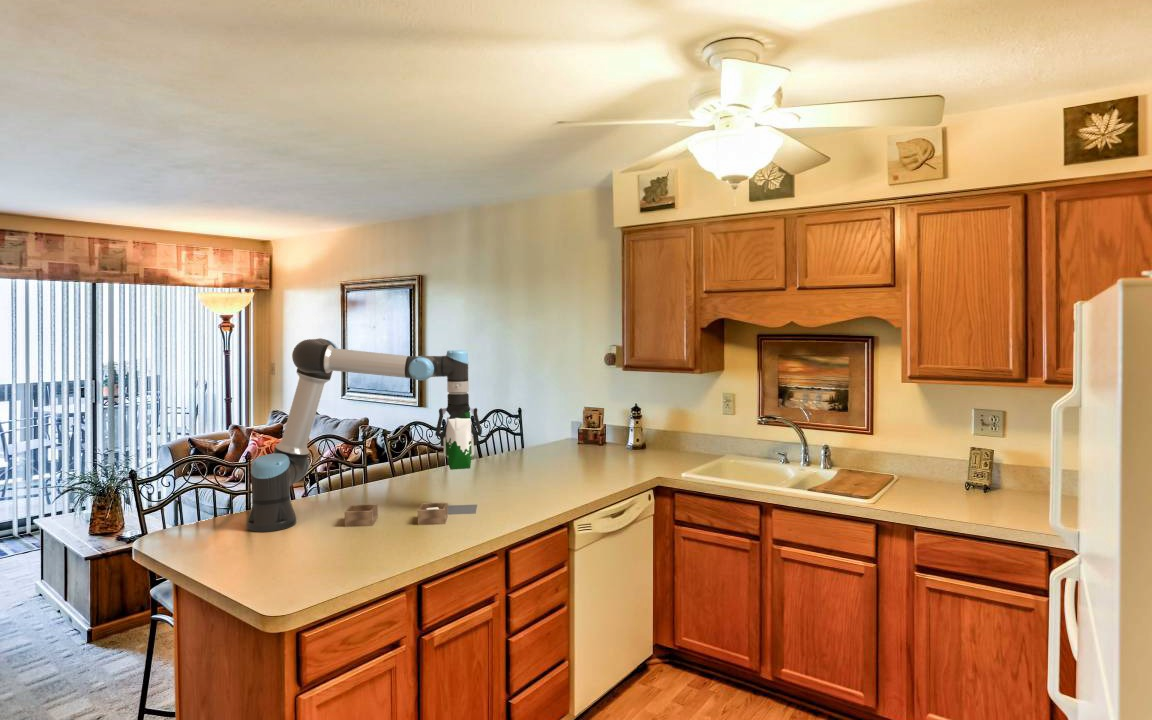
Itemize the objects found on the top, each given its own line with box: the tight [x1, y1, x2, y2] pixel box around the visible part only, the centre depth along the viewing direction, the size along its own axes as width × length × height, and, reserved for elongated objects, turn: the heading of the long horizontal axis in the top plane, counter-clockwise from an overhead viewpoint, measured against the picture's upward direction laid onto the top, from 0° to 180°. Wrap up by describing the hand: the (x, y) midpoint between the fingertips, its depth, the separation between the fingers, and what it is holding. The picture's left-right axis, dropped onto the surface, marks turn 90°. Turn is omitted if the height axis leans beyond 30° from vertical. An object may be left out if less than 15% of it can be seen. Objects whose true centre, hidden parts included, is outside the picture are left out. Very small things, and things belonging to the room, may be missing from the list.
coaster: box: [448, 504, 478, 516], centre depth 238 cm, size 12×12×1 cm
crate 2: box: [417, 502, 449, 526], centre depth 224 cm, size 9×9×6 cm
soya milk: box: [445, 411, 473, 471], centre depth 236 cm, size 9×9×20 cm
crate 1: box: [343, 503, 379, 528], centre depth 222 cm, size 9×9×6 cm
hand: (459, 454), depth 237 cm, fingers closed on soya milk, 9 cm apart
